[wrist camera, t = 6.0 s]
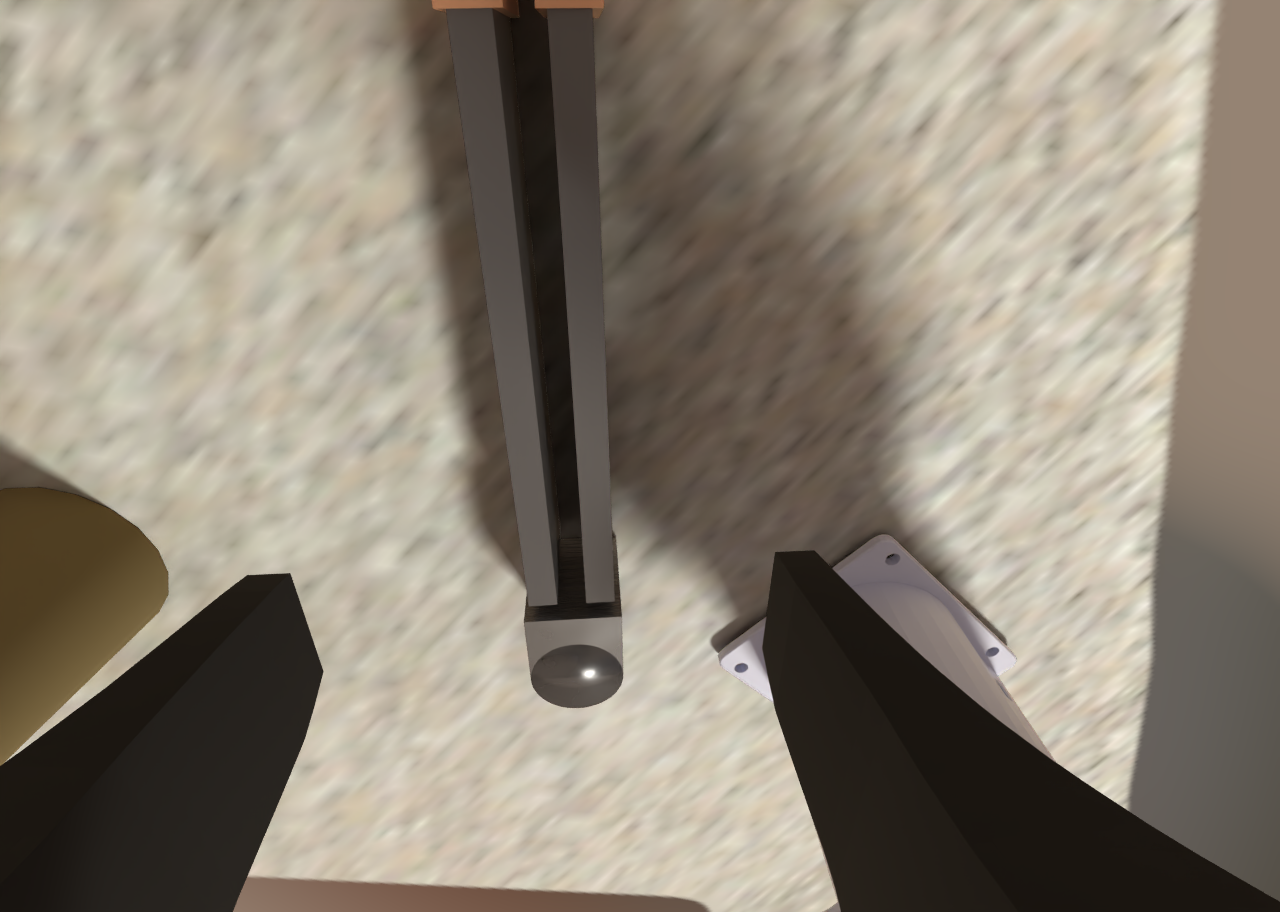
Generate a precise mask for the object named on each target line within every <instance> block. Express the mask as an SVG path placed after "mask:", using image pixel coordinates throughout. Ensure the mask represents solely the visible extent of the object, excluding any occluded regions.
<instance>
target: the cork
mask: <svg viewBox="0 0 1280 912" xmlns="http://www.w3.org/2000/svg"><path fill="white" fill-rule="evenodd" d="M167 596H168V571H167V569H166V567H165V565H164V563H163V560H162V558H161V556H160V554H159V552H158V550H157V549H156V548H155V547H154V545H153V544H152V543H151V542H150V541H149V540H148V539H147V538H146V536H145V535H144V534H143V533H142V532H141V531H140V530H139V529H138V528H137V527H136V526H134V525H133V524H131V523H130V522H128V521H127V520H125V519H124V518H122V517H121V516H120V515H118V514H117V513H115V512H114V511H112V510H111V509H109V508H107V507H104V506H102V505H100V504H97V503H95V502H92V501H90V500H88V499H85V498H83V497H80V496H78V495H75V494H70V493H65V492H60V491H55V490H50V489H45V488H40V487H38V488H6V489H3V490H0V766H1V765H2V764H3V763H4V762H5V761H6V760H7V759H8V758H9V757H10V756H11V755H12V754H14V753H15V752H16V751H17V750H18V749H19V748H20V747H21V746H22V745H23V744H24V743H25V742H26V741H27V740H28V739H29V738H30V737H31V736H32V735H33V734H34V733H35V732H36V731H37V730H38V729H39V728H40V727H41V726H42V725H43V724H44V723H45V722H46V721H47V720H48V719H50V718H51V717H52V716H53V715H54V714H55V713H56V712H57V711H58V710H59V709H60V708H61V707H62V706H63V705H64V704H65V703H66V702H67V701H68V700H69V699H70V698H71V697H72V696H73V695H74V694H75V693H76V692H77V691H78V690H79V689H80V688H81V687H82V686H83V685H84V684H85V683H87V682H88V681H89V680H90V679H91V678H92V677H93V676H94V675H95V674H96V673H97V672H98V671H99V670H100V669H101V668H102V667H103V666H104V665H105V664H106V663H107V662H108V661H109V660H110V659H111V658H112V657H113V656H114V655H115V654H116V653H117V652H118V651H119V650H120V649H121V648H123V647H124V646H125V645H126V644H127V643H128V642H129V641H130V640H131V639H132V638H133V637H134V636H135V635H136V634H137V633H138V632H139V631H140V630H141V629H142V628H143V627H144V626H145V625H146V624H147V623H148V622H149V621H150V620H151V619H152V618H153V617H154V616H155V615H156V614H157V613H159V611H160V609H161V607H162V605H163V604H164V602H165V600H166V598H167Z"/></svg>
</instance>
